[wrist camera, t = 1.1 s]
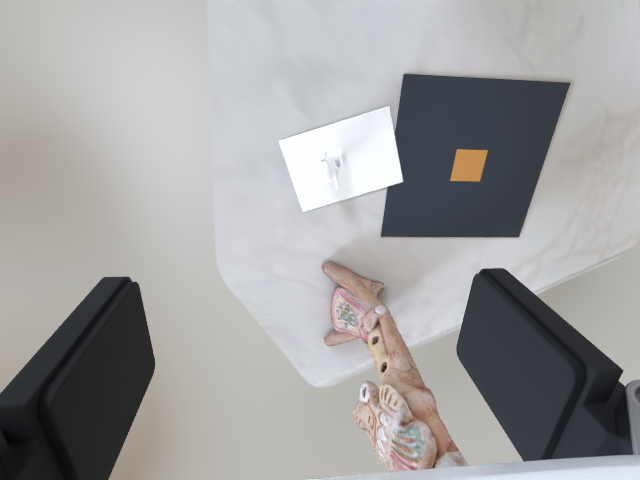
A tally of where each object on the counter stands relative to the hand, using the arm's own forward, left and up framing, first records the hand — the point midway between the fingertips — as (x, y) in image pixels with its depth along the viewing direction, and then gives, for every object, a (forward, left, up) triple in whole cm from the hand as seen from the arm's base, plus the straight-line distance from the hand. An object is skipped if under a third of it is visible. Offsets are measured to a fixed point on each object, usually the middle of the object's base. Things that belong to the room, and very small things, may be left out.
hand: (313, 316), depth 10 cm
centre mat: (+1, +17, -24) cm, 29 cm away
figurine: (+17, +7, -24) cm, 30 cm away
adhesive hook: (+1, +5, -24) cm, 24 cm away
